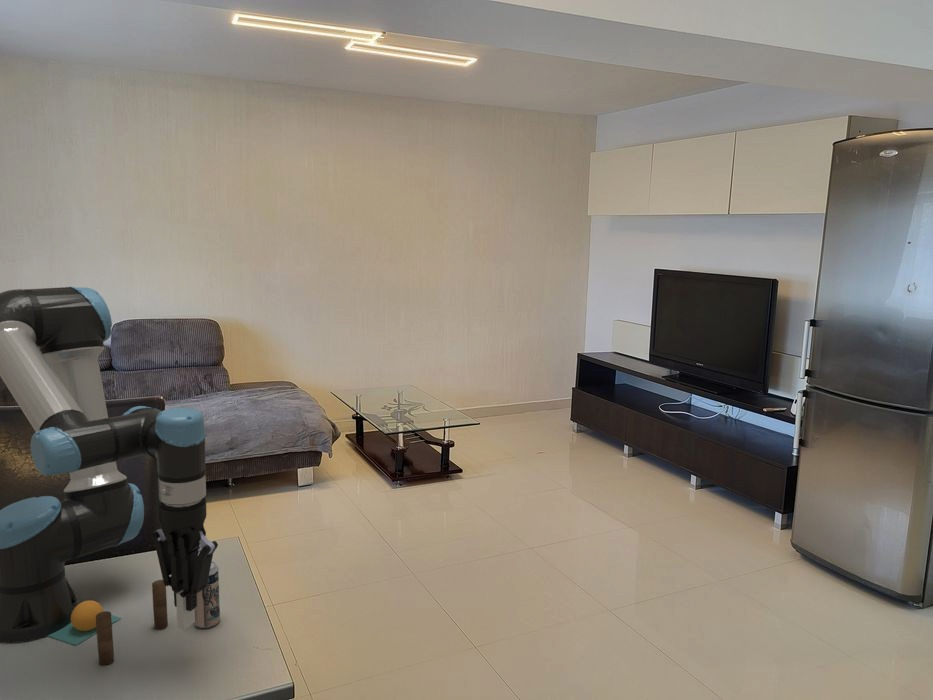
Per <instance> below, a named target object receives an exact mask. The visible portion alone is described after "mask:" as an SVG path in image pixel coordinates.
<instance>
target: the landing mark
mask: <svg viewBox="0 0 933 700" xmlns="http://www.w3.org/2000/svg"><path fill="white" fill-rule="evenodd" d="M111 619H112V625H113V624H115V623H117V622H118V621H121V619H122V617H121V616H117V615H113V614H111ZM95 635H97V628H94V629H92V630H90V631H79V630H77V629H76V628H74V627H73V625H72V623H70V624H68V625H67V626H65V627H64V628H62V629H60V630H59V631H57V632H54V633H52V634H50V635H47V636H46V637H48V638H51V639H54V640H57V641H61V642H64V643H67V644H70V645H72V646H75V647H77V646H79V645H80V644H82V643H83V642H85V641H87V640H88V639H90V638H91V637H93V636H95Z"/></svg>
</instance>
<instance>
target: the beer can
mask: <svg viewBox="0 0 933 700" xmlns="http://www.w3.org/2000/svg"><path fill="white" fill-rule="evenodd" d="M219 579H220V576H219V566H218V565H217V564H216V562H215V561H212V562H211V567H210V572H209V577H208V582H207V587H206V588H205V589H203V590H202V591H200V592H199V593H197V607H196V608H195V622H194V623H193V625H195V627H197V628H201V629H208V628H212V627H214V626H216V625H217V624H218V623H219V622H220V621H221V611H220V609H221V608H220V586H219V585H220V584H219V583H220V582H219Z"/></svg>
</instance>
